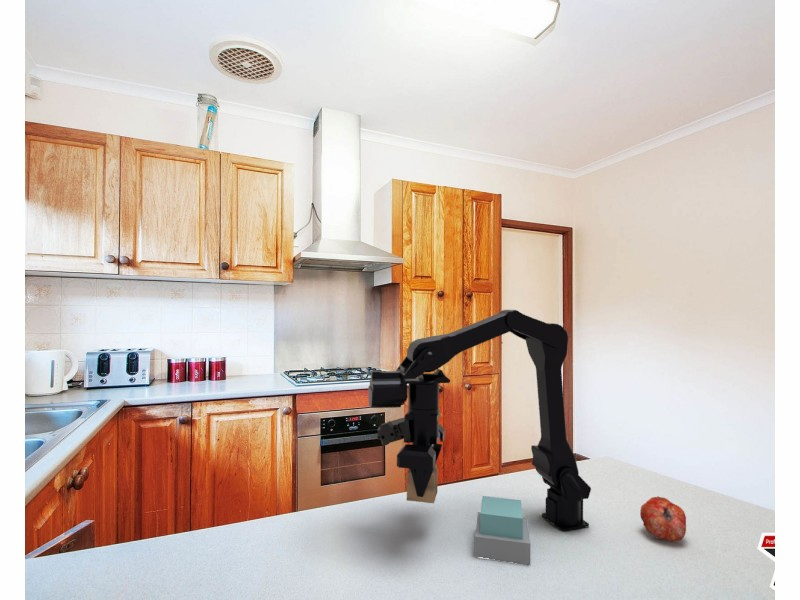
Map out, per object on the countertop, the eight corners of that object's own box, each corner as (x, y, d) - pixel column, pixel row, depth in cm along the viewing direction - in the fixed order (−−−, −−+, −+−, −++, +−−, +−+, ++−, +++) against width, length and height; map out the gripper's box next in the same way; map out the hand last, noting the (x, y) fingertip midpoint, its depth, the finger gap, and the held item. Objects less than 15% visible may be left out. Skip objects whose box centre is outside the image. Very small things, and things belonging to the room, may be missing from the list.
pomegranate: (637, 537, 83) (636, 523, 77) (643, 500, 87) (643, 484, 80) (682, 554, 79) (686, 541, 72) (686, 514, 82) (690, 498, 76)
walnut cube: (411, 489, 82) (412, 463, 82) (437, 491, 81) (437, 465, 81) (406, 500, 77) (407, 472, 77) (433, 503, 76) (434, 475, 76)
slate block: (477, 533, 81) (477, 511, 81) (526, 539, 79) (526, 517, 79) (475, 560, 72) (475, 536, 72) (530, 568, 70) (530, 543, 70)
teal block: (482, 514, 80) (482, 495, 80) (521, 519, 78) (521, 500, 78) (480, 533, 73) (480, 513, 73) (522, 539, 71) (522, 518, 71)
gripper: (393, 394, 90) (392, 468, 90) (368, 415, 72) (366, 508, 72) (445, 397, 88) (444, 473, 88) (433, 420, 70) (431, 515, 69)
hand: (422, 490), depth 79 cm, fingers closed on walnut cube, 5 cm apart
